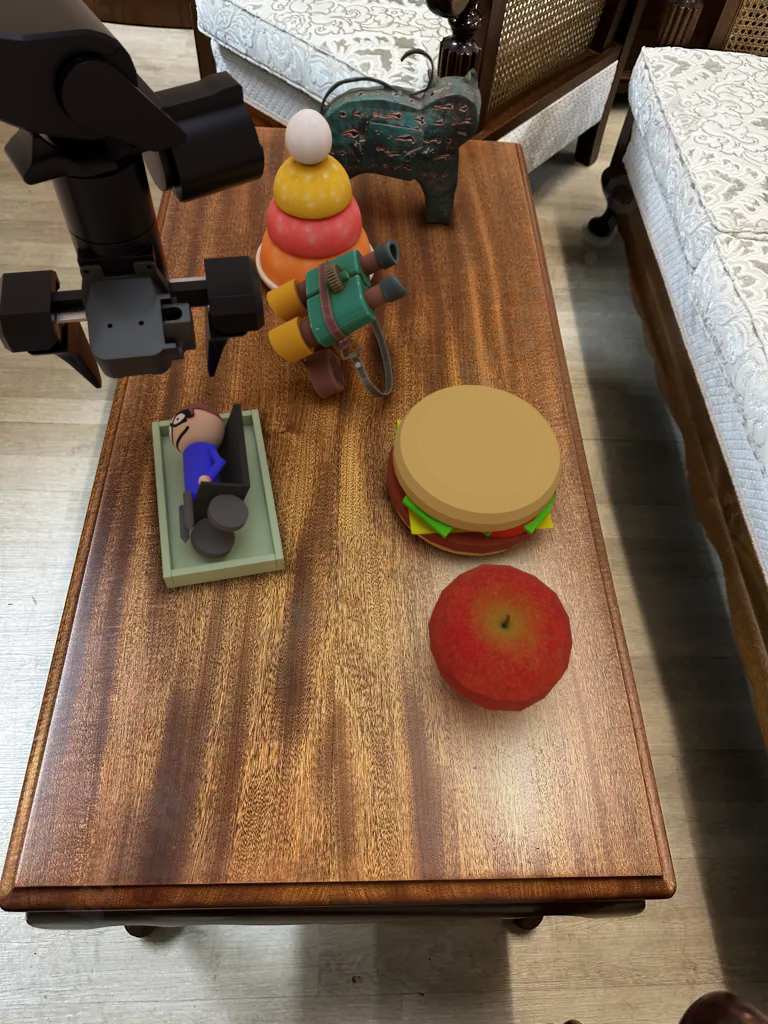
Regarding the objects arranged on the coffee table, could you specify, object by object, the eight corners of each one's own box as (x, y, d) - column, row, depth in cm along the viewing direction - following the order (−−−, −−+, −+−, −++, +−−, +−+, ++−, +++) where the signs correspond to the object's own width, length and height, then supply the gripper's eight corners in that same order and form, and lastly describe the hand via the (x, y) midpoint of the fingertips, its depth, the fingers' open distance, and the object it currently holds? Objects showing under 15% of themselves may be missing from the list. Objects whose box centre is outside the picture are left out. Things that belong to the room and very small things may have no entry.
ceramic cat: (460, 205, 96) (490, 43, 79) (462, 236, 93) (494, 74, 76) (312, 193, 95) (310, 27, 78) (308, 224, 92) (305, 57, 75)
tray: (167, 588, 64) (163, 577, 62) (155, 435, 72) (151, 421, 71) (284, 569, 65) (283, 558, 64) (259, 422, 74) (257, 408, 72)
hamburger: (377, 430, 75) (383, 377, 68) (529, 426, 77) (549, 374, 70) (392, 569, 66) (400, 524, 59) (563, 561, 68) (589, 516, 61)
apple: (522, 758, 58) (565, 713, 48) (398, 706, 59) (414, 652, 49) (556, 639, 64) (601, 577, 53) (442, 594, 65) (465, 526, 55)
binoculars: (330, 346, 85) (256, 257, 73) (438, 296, 81) (376, 192, 69) (340, 439, 78) (259, 357, 66) (459, 390, 73) (394, 292, 61)
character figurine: (183, 571, 64) (179, 439, 72) (264, 559, 65) (252, 429, 73) (159, 526, 58) (158, 386, 65) (250, 513, 58) (238, 376, 66)
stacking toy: (373, 237, 91) (385, 77, 75) (376, 316, 84) (390, 157, 67) (260, 232, 90) (247, 69, 74) (253, 311, 83) (236, 149, 66)
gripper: (-54, 313, 42) (35, 469, 55) (267, 287, 45) (278, 440, 58) (-36, 197, 48) (40, 363, 61) (247, 181, 51) (262, 342, 64)
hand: (156, 379), depth 61 cm, fingers open, 9 cm apart
